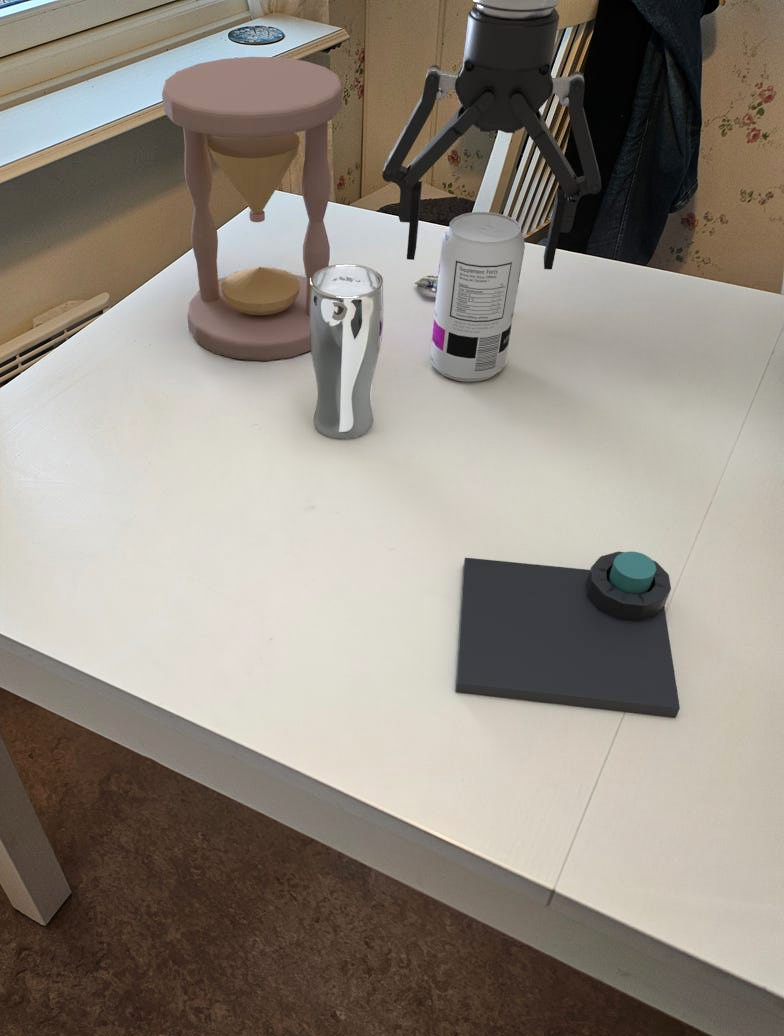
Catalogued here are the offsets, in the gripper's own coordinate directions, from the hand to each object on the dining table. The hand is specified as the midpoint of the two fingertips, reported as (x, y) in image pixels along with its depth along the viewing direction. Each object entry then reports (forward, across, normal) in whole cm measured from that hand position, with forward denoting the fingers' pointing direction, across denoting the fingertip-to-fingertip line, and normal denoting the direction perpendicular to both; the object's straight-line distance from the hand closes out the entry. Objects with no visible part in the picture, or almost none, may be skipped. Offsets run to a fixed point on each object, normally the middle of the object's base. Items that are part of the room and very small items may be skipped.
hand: (478, 258), depth 90 cm
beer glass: (+12, -12, -13) cm, 21 cm away
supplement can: (+12, 0, 0) cm, 12 cm away
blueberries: (+12, -3, +17) cm, 21 cm away
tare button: (+9, +14, -36) cm, 39 cm away
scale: (+12, +9, -40) cm, 43 cm away
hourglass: (+12, -24, +6) cm, 27 cm away
